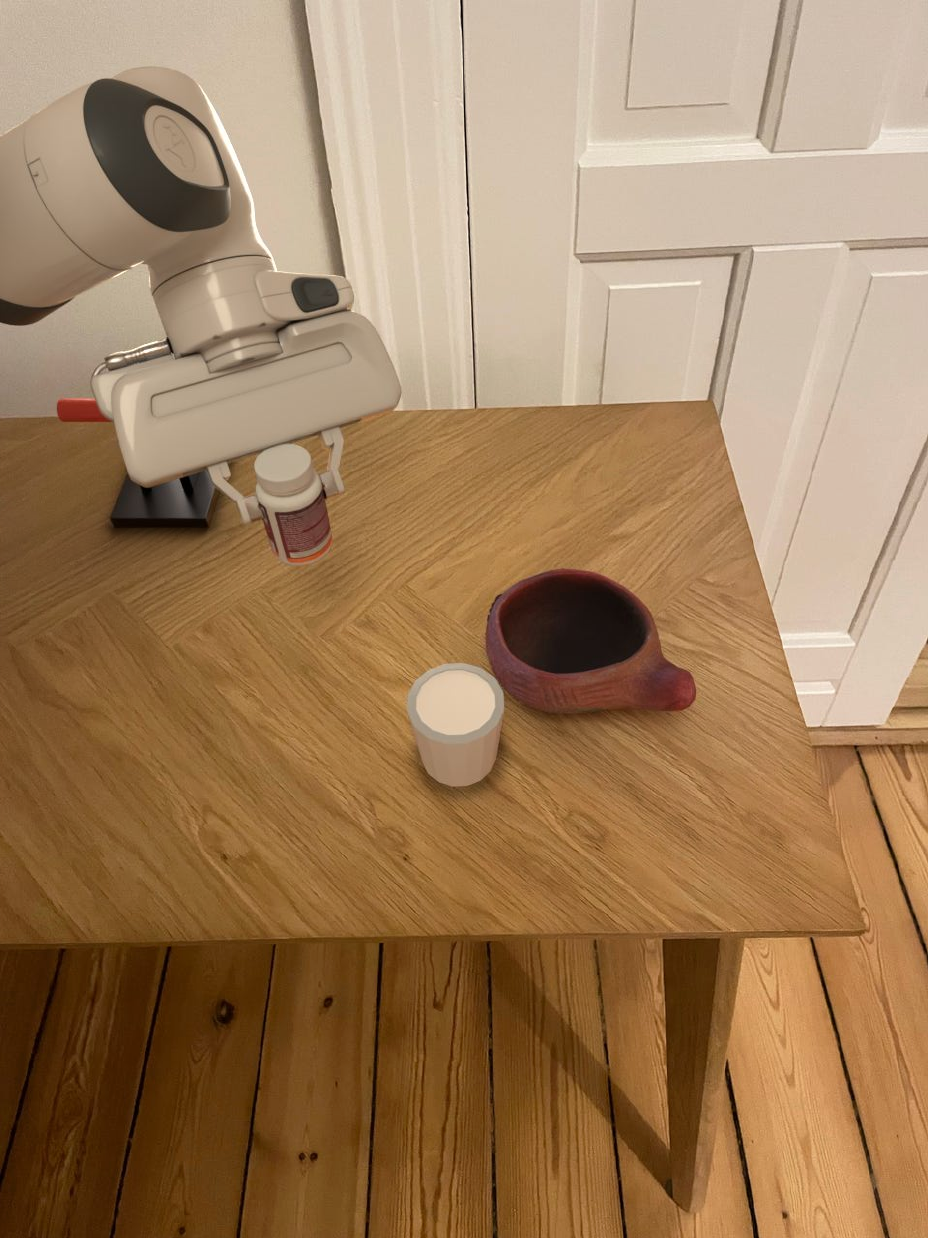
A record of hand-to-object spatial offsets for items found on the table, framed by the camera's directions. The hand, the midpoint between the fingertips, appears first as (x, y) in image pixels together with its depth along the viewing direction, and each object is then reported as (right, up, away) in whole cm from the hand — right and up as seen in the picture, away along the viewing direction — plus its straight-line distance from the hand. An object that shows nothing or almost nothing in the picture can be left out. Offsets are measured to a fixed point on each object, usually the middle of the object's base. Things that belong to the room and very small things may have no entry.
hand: (295, 508), depth 68 cm
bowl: (+22, -13, +7) cm, 26 cm away
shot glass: (+12, -18, +3) cm, 22 cm away
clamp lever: (-16, +9, +10) cm, 21 cm away
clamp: (-16, +5, +23) cm, 28 cm away
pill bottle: (0, -2, +4) cm, 5 cm away
